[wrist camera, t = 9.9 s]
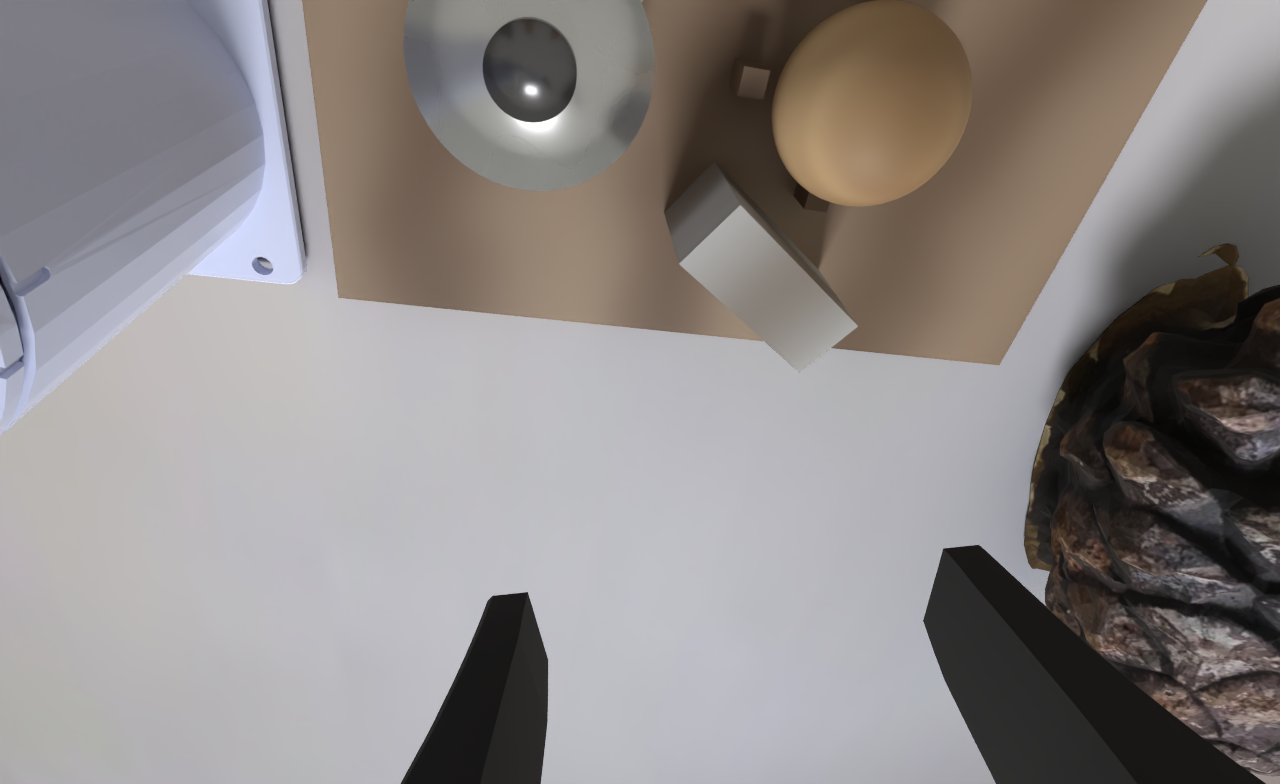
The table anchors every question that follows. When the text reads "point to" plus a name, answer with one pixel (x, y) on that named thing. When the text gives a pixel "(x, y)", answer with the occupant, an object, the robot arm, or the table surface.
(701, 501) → the table surface
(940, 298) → the base
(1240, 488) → the pine cone
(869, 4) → the tan round ball
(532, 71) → the lever
